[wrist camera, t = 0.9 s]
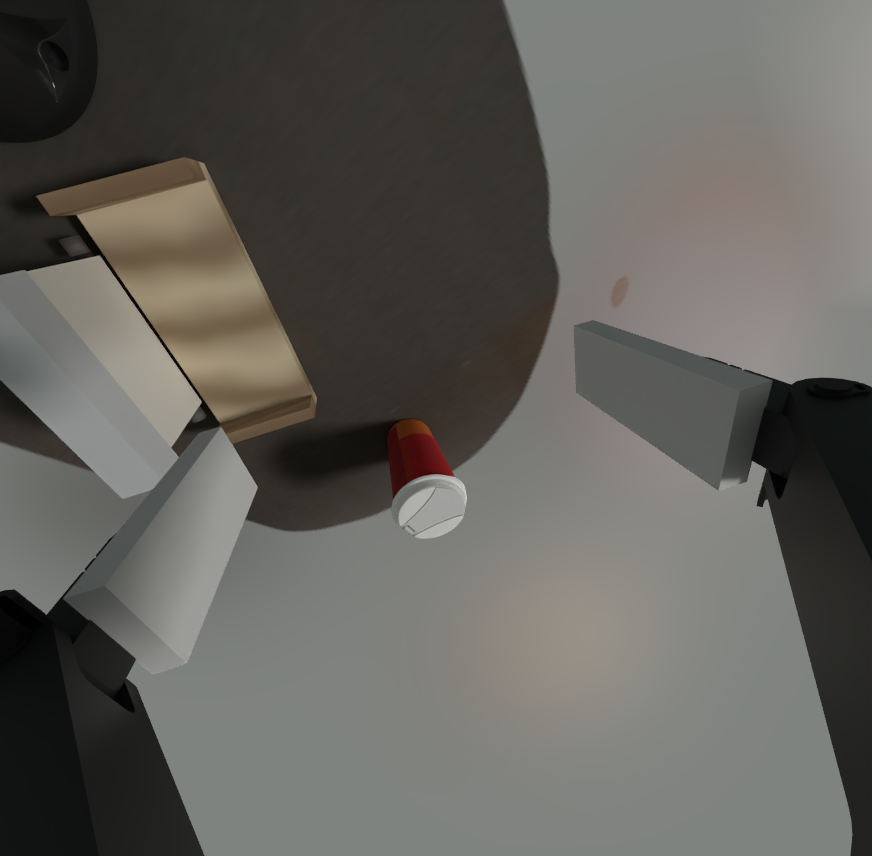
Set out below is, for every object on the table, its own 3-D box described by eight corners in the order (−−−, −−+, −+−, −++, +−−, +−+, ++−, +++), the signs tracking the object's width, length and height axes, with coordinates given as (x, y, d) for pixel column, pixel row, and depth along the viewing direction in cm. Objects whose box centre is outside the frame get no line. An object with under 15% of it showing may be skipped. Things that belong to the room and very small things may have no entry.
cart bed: (46, 204, 28) (2, 204, 24) (203, 163, 29) (184, 157, 25) (210, 431, 40) (197, 454, 36) (316, 397, 41) (314, 417, 37)
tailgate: (84, 259, 29) (-85, 297, 17) (122, 249, 29) (-20, 279, 17) (190, 405, 37) (122, 499, 25) (219, 396, 37) (165, 485, 25)
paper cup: (403, 470, 49) (423, 553, 38) (366, 436, 45) (376, 516, 33) (449, 437, 48) (485, 511, 36) (415, 398, 44) (444, 468, 32)
